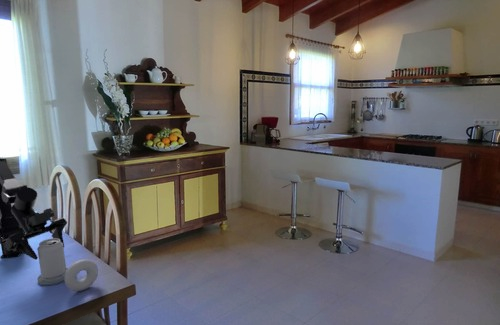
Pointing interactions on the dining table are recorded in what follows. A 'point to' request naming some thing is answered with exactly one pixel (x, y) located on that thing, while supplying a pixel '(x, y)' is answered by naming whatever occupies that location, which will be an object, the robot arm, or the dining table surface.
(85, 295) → the dining table surface
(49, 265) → the can
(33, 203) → the robot arm
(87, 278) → the donut
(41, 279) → the dish
